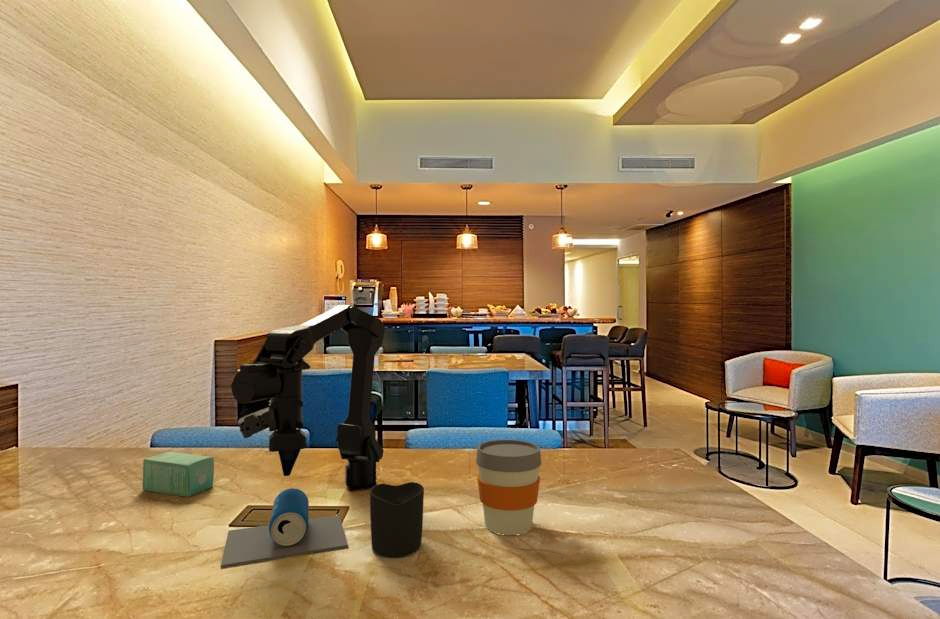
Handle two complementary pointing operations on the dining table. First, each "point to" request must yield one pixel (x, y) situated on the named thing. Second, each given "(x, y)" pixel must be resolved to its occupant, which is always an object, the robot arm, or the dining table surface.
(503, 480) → the reusable coffee cup
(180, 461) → the box
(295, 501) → the beverage can
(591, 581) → the dining table surface
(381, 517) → the pen holder
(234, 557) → the mat
